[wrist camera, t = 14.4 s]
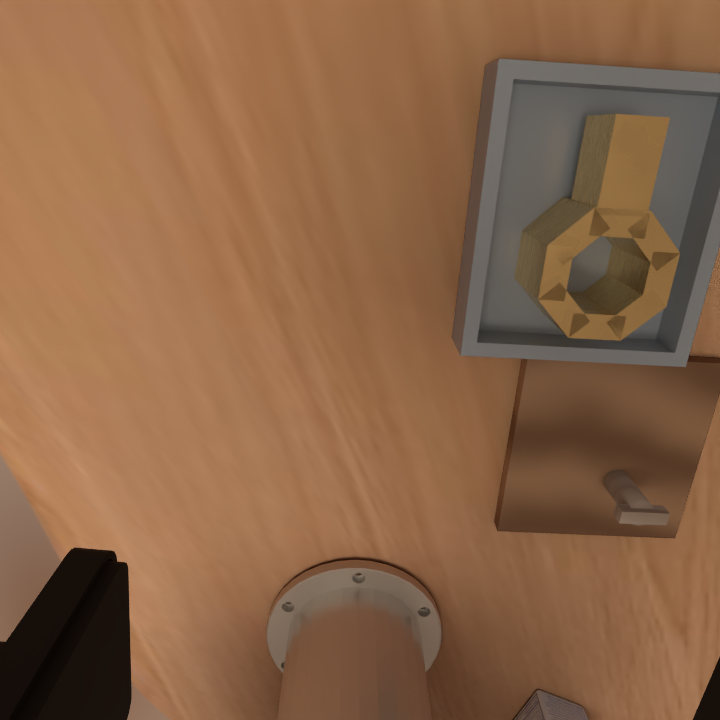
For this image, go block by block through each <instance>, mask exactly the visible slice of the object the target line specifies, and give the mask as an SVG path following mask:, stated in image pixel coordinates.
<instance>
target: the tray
mask: <svg viewBox="0 0 720 720" xmlns="http://www.w3.org/2000/svg"><path fill="white" fill-rule="evenodd" d="M606 114H627V115H642V116H657V117H670V120H669V125H668V129H667V133H666V138H665V142H664V146H663V150H662V155H661V159H660V163H659V168H658V172H657V176H656V180H655V185H654V189H653V193H652V198H651V202H650V206H649V210H650V211H652V213H653V214H654V216H655V217H656V219H657V220H658V222H659V223H660V224H661V226H662V227H663V229H664V230H665V232H666V233H667V235H668V236H669V238H670V239H671V241H672V242H673V243H674V245H675V246H676V248H677V249H678V251H679V252H680V256H679V260H678V264H677V268H676V272H675V276H674V279H673V283H672V287H671V291H670V295H669V299H668V303H667V306H666V308H664V309H663V310H662V311H660V312H659V313H657V314H656V315H655V316H653V317H652V318H651V319H649V320H648V321H647V322H645V323H644V324H643V325H641V326H640V327H638V328H637V329H636V330H634V331H633V332H632V333H630V334H629V335H628V336H626V337H625V338H624V339H622V340H621V341H616V340H598V339H579V338H568V337H567V336H566V335H565V334H564V333H563V332H562V331H561V330H560V329H559V328H558V327H557V326H555V325H554V324H553V323H552V322H551V321H550V320H549V319H548V318H547V317H546V316H545V315H544V314H543V313H542V312H541V311H540V310H539V308H538V307H537V306H536V305H535V303H534V302H533V301H532V300H531V298H530V297H529V296H528V295H527V293H526V292H525V291H524V290H523V288H522V287H521V286H520V285H519V283H518V282H517V281H516V280H515V279H514V278H515V271H516V265H517V259H518V252H519V246H520V240H521V234H522V230H523V229H525V228H526V227H527V226H528V225H529V224H531V223H532V222H533V221H534V220H535V219H537V218H538V217H539V216H540V215H541V214H543V213H544V212H545V211H546V210H547V209H549V208H550V207H551V206H552V205H554V204H555V203H556V202H557V201H558V200H560V199H561V198H562V197H567V198H571V197H572V192H573V187H574V181H575V176H576V171H577V165H578V160H579V154H580V149H581V144H582V138H583V133H584V127H585V122H586V117H587V116H592V115H606ZM719 246H720V73H707V72H692V71H677V70H662V69H647V68H633V67H618V66H603V65H588V64H573V63H558V62H543V61H528V60H513V59H497V60H495V61H493V62H491V63H489V64H487V65H485V71H484V79H483V88H482V96H481V104H480V112H479V120H478V129H477V137H476V145H475V153H474V161H473V170H472V178H471V186H470V194H469V202H468V211H467V219H466V227H465V235H464V243H463V252H462V260H461V268H460V276H459V284H458V293H457V301H456V309H455V317H454V325H453V334H452V339H453V341H454V343H455V345H456V347H457V349H458V351H459V353H460V355H461V356H478V357H498V358H518V359H538V360H557V361H577V362H597V363H616V364H636V365H656V366H675V367H686V364H687V361H688V357H689V353H690V350H691V346H692V343H693V339H694V336H695V332H696V328H697V325H698V321H699V318H700V314H701V311H702V307H703V303H704V300H705V296H706V293H707V289H708V286H709V282H710V279H711V275H712V271H713V268H714V264H715V261H716V257H717V254H718V250H719ZM611 248H612V245H611V244H610V243H609V241H608V240H607V238H606V237H605V236H600V237H599V238H598V239H596V240H595V241H594V242H593V243H591V244H590V245H589V246H587V247H586V248H585V249H584V250H582V251H581V252H580V253H579V254H577V255H576V256H575V257H574V258H573V259H572V264H571V269H570V274H569V279H568V284H567V290H566V291H569V292H583V291H585V290H586V289H587V288H589V287H590V286H591V285H592V284H594V283H595V282H596V281H598V280H599V279H600V278H601V277H603V276H604V275H605V274H606V271H607V267H608V262H609V257H610V253H611Z"/></svg>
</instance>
